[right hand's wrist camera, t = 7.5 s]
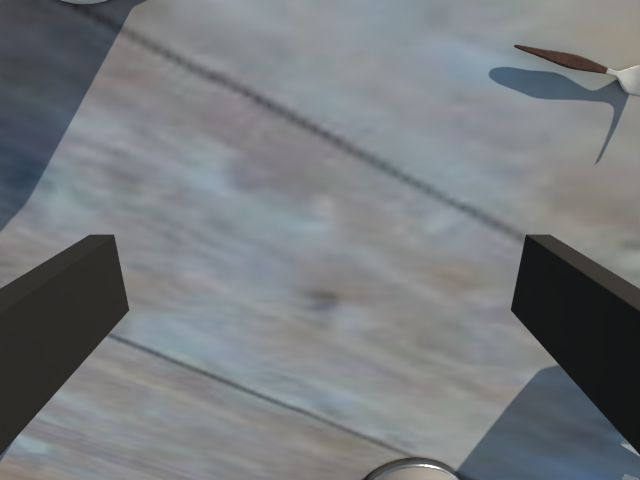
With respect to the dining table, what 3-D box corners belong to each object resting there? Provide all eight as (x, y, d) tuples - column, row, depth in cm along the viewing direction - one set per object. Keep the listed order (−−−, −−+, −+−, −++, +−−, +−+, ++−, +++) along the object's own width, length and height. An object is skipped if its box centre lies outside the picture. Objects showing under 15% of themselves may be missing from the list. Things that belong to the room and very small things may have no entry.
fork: (517, 30, 35) (528, 26, 33) (676, 74, 36) (695, 73, 34) (506, 61, 36) (516, 59, 34) (661, 103, 37) (679, 103, 35)
